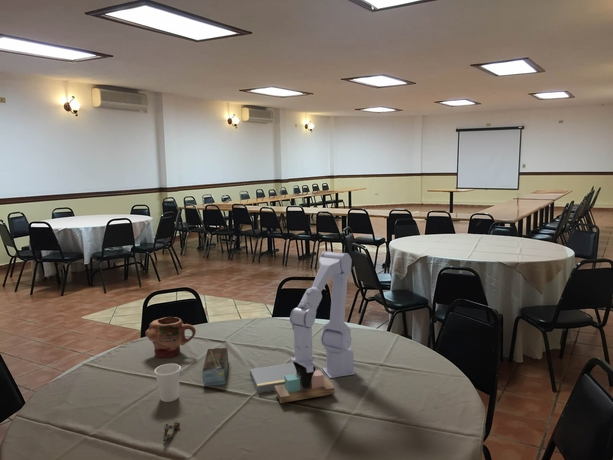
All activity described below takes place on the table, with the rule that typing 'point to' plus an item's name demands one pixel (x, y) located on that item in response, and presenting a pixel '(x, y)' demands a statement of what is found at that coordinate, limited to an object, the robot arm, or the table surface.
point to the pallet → (303, 391)
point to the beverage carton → (215, 367)
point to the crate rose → (317, 379)
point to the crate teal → (292, 383)
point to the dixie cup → (168, 381)
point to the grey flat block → (271, 376)
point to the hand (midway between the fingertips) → (304, 384)
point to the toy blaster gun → (167, 427)
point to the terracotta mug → (168, 336)
